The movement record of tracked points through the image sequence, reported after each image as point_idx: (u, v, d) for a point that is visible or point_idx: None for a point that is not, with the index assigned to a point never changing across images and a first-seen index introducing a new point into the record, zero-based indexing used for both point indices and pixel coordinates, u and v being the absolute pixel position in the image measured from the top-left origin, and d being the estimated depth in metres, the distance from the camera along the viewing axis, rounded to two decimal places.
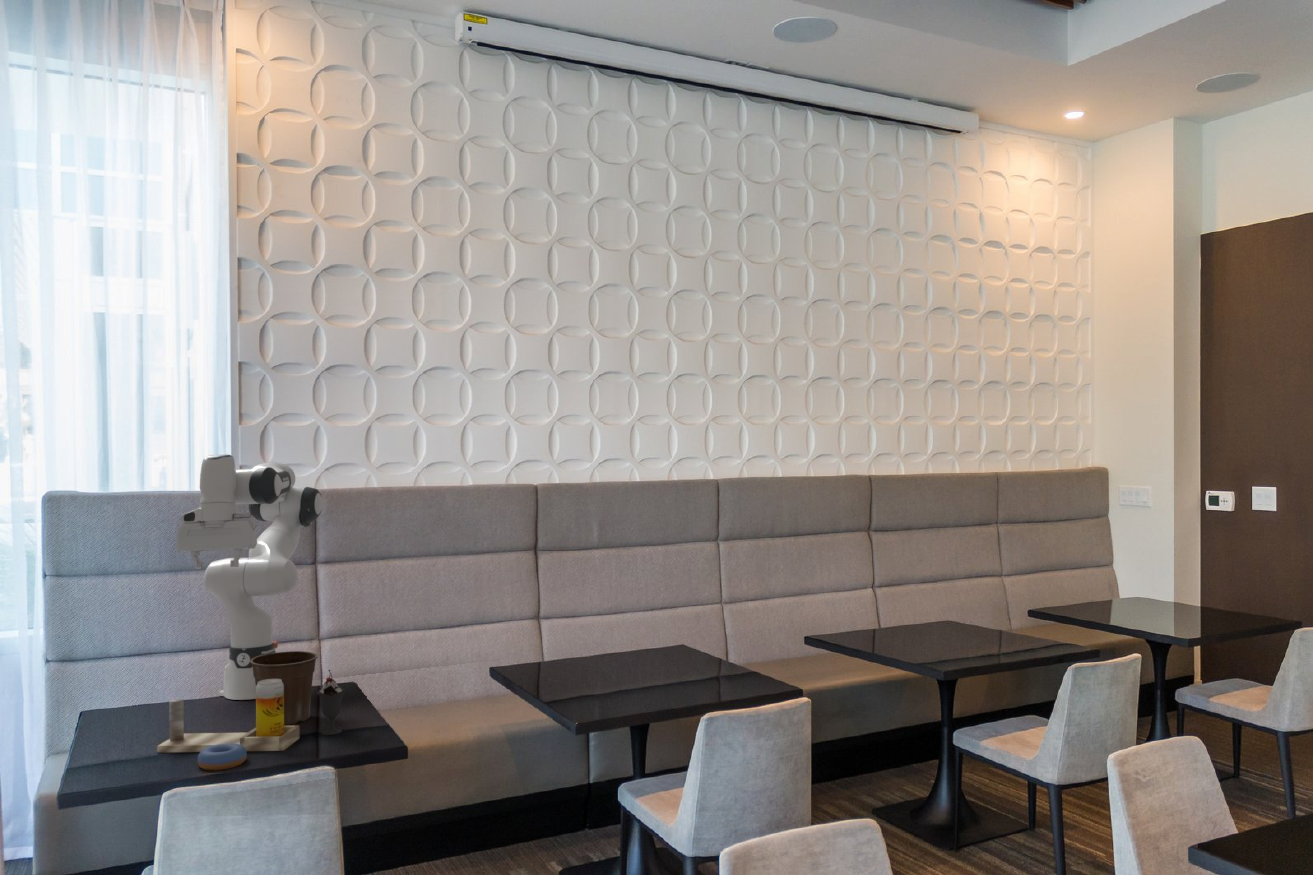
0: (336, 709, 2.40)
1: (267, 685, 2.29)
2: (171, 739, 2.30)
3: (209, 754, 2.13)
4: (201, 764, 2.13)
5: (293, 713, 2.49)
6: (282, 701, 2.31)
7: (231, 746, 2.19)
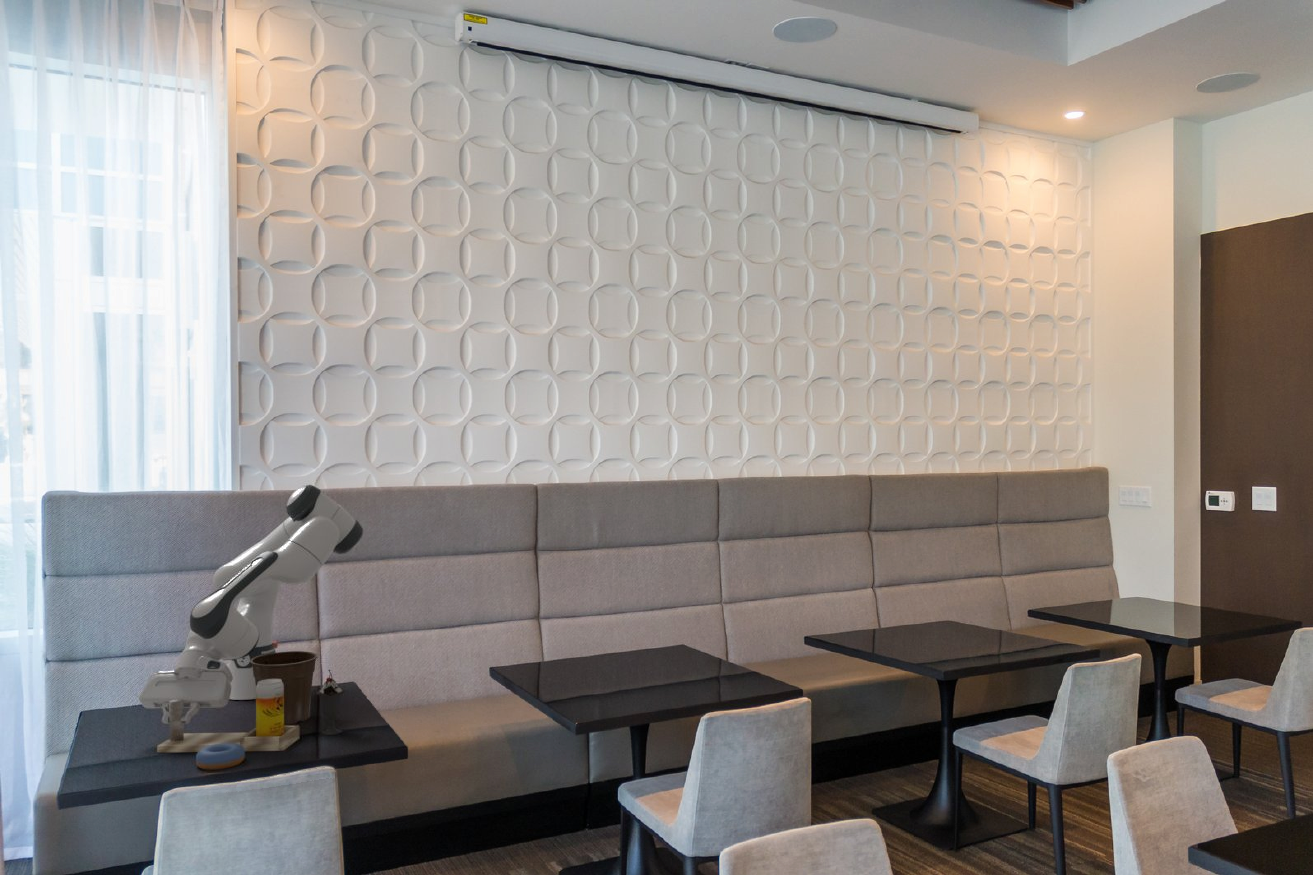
0: (336, 709, 2.40)
1: (267, 685, 2.29)
2: (171, 739, 2.30)
3: (207, 754, 2.14)
4: (199, 764, 2.13)
5: (293, 713, 2.49)
6: (282, 701, 2.31)
7: (229, 746, 2.20)
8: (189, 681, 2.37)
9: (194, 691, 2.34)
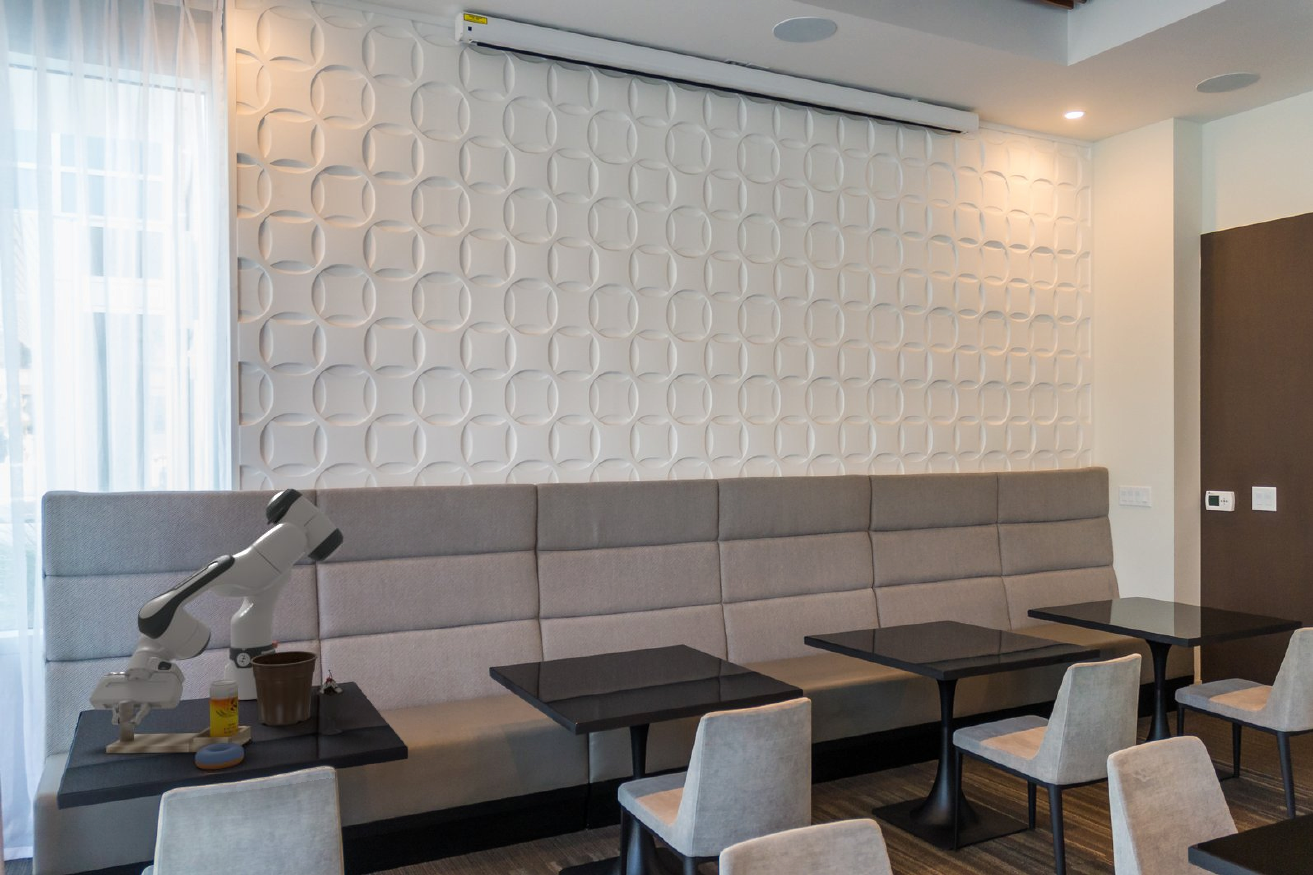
0: (336, 709, 2.40)
1: (221, 686, 2.29)
2: (121, 740, 2.30)
3: (206, 753, 2.14)
4: (198, 763, 2.14)
5: (293, 713, 2.49)
6: (236, 702, 2.31)
7: (228, 745, 2.20)
8: (140, 682, 2.37)
9: (144, 692, 2.34)
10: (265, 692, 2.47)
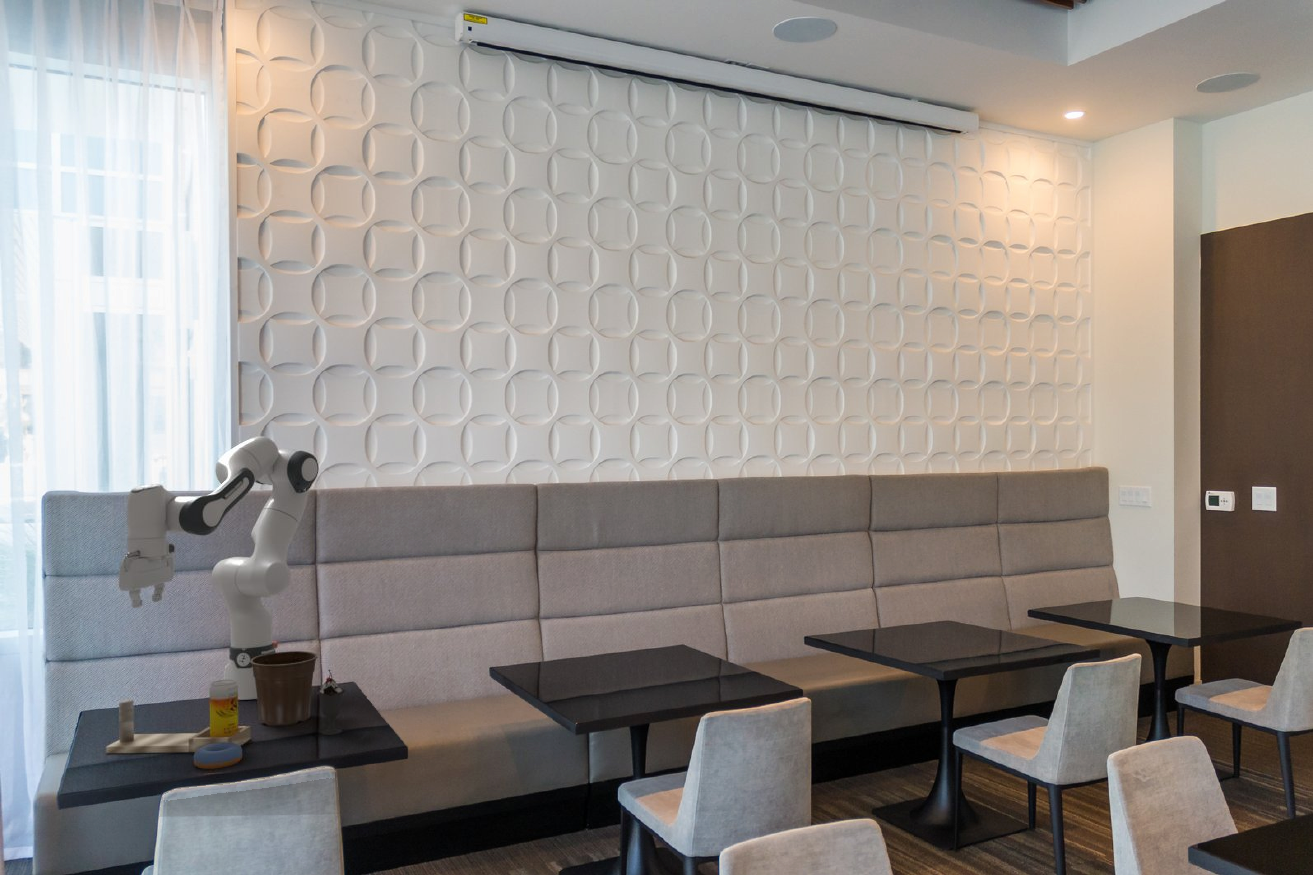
0: (336, 709, 2.40)
1: (221, 686, 2.29)
2: (121, 740, 2.30)
3: (205, 753, 2.14)
4: (197, 763, 2.14)
5: (293, 713, 2.49)
6: (236, 702, 2.31)
7: (227, 745, 2.20)
8: (154, 564, 2.48)
9: (159, 574, 2.51)
10: (265, 692, 2.47)
